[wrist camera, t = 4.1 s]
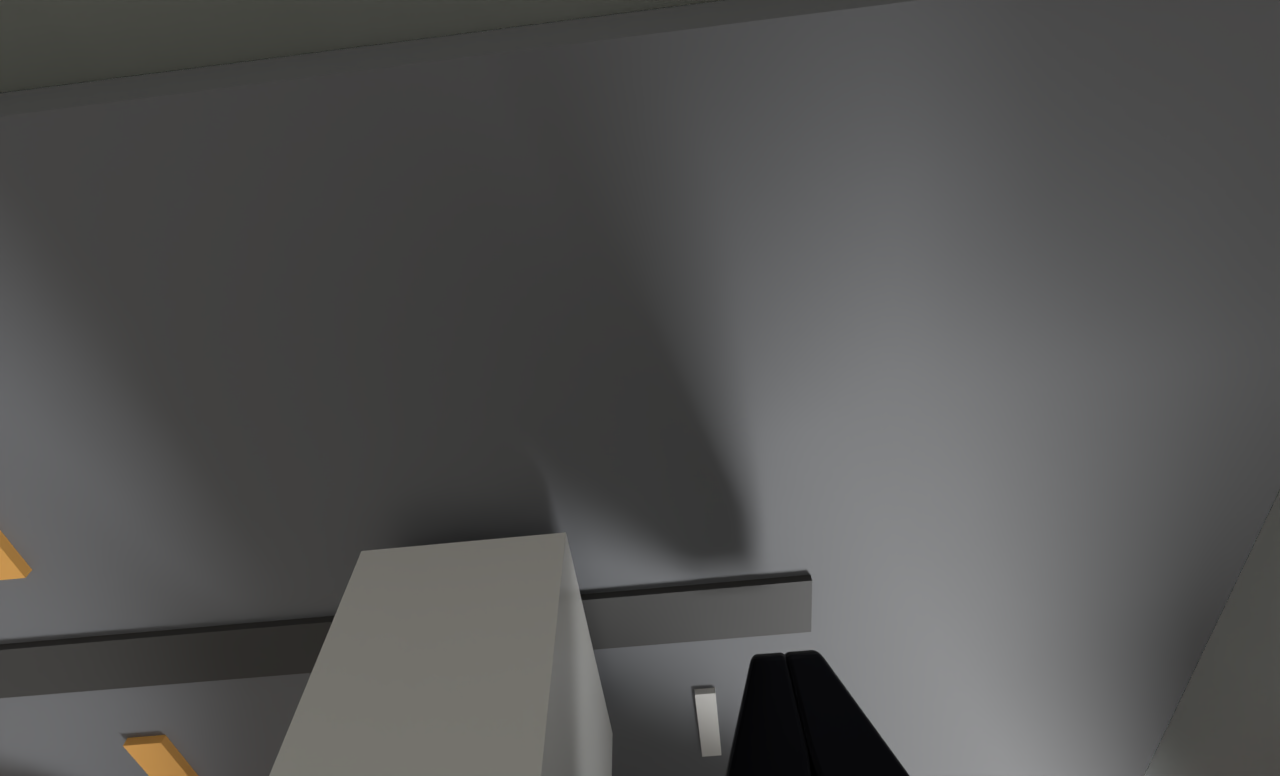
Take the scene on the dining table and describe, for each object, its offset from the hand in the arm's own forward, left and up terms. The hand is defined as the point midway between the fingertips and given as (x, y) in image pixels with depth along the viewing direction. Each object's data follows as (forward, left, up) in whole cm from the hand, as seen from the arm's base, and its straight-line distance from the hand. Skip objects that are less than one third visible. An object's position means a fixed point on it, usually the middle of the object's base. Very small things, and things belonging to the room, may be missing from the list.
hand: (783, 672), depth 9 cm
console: (+5, +1, -3) cm, 6 cm away
